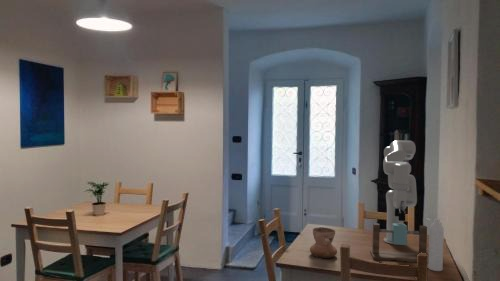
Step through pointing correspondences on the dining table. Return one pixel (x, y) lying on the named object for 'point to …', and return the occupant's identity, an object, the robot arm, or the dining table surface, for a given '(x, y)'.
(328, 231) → the ceramic jug
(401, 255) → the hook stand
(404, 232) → the saddle hanger
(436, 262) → the water bottle
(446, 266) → the dining table surface
